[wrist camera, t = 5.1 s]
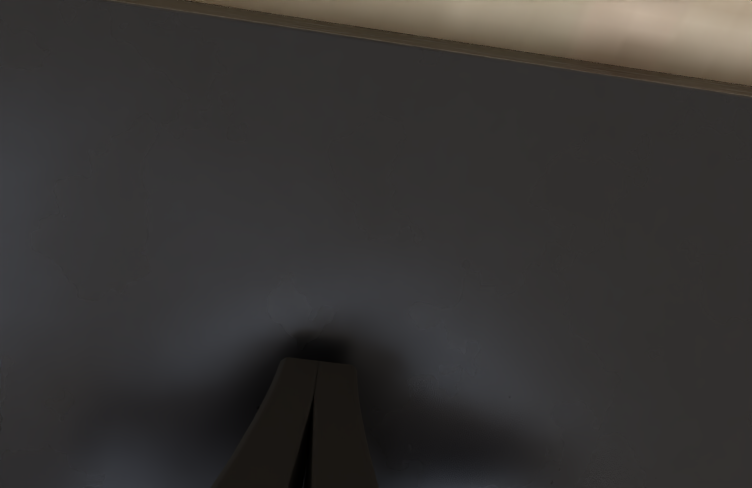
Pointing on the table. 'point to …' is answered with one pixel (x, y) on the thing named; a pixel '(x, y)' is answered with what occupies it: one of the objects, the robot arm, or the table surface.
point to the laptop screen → (363, 255)
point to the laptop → (446, 45)
